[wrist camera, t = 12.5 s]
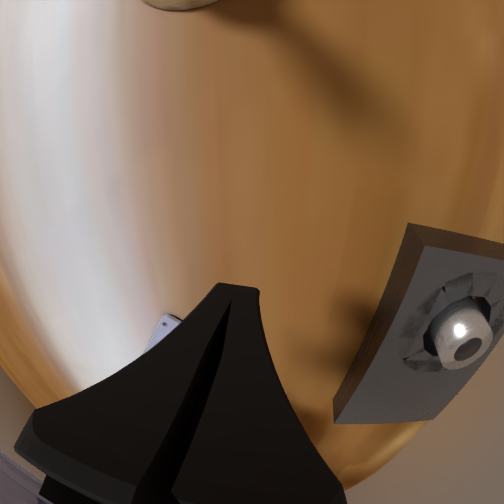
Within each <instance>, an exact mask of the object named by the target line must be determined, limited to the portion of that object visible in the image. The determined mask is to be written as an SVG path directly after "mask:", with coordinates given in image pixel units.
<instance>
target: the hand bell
mask: <svg viewBox="0 0 504 504" xmlns="http://www.w3.org/2000/svg"><path fill="white" fill-rule="evenodd" d="M141 1H143V2H144V3H146V4H148V5H150V6H152V7H155V8H159V9H164V10H172V11H174V10H188V9H194V8H198V7H202V6H205V5H209V4H211V3H214V2H216V1H218V0H141Z"/></svg>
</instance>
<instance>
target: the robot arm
mask: <svg viewBox="0 0 504 504" xmlns="http://www.w3.org/2000/svg"><path fill="white" fill-rule="evenodd" d="M259 295H260V291H259V290H258V289H257V288H254V287H247V286H240V285H233V284H226V283H217V284H216V285H215V286H214V287H213V288H212V290H211V291H210V292H209V293H208V294H207V295H206V297H205V298H204V299H203V300H202V301H201V302H200V303H199V304H198V305H197V306H196V308H195V309H194V310H193V311H192V312H191V313H190V314H189V315H188V316H187V317H186V318H185V319H184V320H183V321H180V320H178V319H176V318H175V317H173V316H171V315H169V314H164V315H163V317H162V319H161V320H160V322H159V324H158V326H157V328H156V330H155V332H154V334H153V336H152V338H151V340H150V342H149V344H148V346H147V348H146V350H145V352H144V354H143V355H141V356H140V357H139V358H137V359H136V360H135V361H133V362H132V363H130V364H128V365H127V366H125V367H124V368H122V369H121V370H119V371H118V372H116V373H115V374H113V375H111V376H110V377H108V378H106V379H104V380H102V381H100V382H99V383H97V384H95V385H93V386H91V387H89V388H87V389H85V390H83V391H81V392H79V393H77V394H75V395H72V396H70V397H68V398H65V399H63V400H60V401H57V402H55V403H52V404H49V405H47V406H44V407H41V408H38V409H35V410H34V412H33V413H32V414H31V416H30V418H29V419H28V421H27V423H26V424H25V427H24V428H23V430H22V432H21V434H20V436H19V438H18V440H17V441H16V443H15V445H14V449H15V452H16V453H17V454H19V455H20V456H21V457H23V458H24V459H25V460H27V461H28V462H29V463H31V464H32V465H34V466H35V467H37V468H38V469H39V470H41V471H42V472H44V473H45V474H47V475H46V477H45V480H44V481H43V480H41V479H40V478H38V477H37V476H35V475H33V474H32V473H31V472H29V471H28V470H26V469H25V468H23V467H22V466H21V465H19V464H18V463H17V462H15V461H14V460H12V459H11V458H10V457H9V456H7V455H6V454H5V453H4V452H2V451H1V450H0V504H347V501H346V497H345V493H344V489H343V486H342V484H341V483H340V481H339V480H338V479H337V477H336V476H335V475H334V474H333V472H332V471H331V470H330V468H329V467H328V465H327V464H326V463H325V461H324V460H323V458H322V457H321V456H320V454H319V453H318V451H317V450H316V448H315V446H314V445H313V443H312V442H311V440H310V439H309V437H308V435H307V434H306V432H305V430H304V428H303V427H302V425H301V423H300V421H299V419H298V418H297V416H296V414H295V412H294V410H293V408H292V406H291V404H290V402H289V400H288V398H287V396H286V394H285V392H284V389H283V387H282V385H281V382H280V380H279V377H278V375H277V372H276V370H275V367H274V364H273V361H272V358H271V355H270V352H269V349H268V345H267V342H266V338H265V333H264V329H263V325H262V320H261V313H260V305H259ZM166 323H167V324H166Z"/></svg>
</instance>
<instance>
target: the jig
mask: <svg viewBox="0 0 504 504" xmlns="http://www.w3.org/2000/svg"><path fill="white" fill-rule="evenodd" d="M467 296H475V299H474V301H475V303H476V304H477V306H478V308H479V309H480V311H481V312H482V314H483V316H484V318H485V319H486V321H487V323H488V324H489V326H490V328H491V330H492V332H493V339H492V342H491V344H490V346H489V347H488V349H487V350H486V351H485V352H484V354H483V355H482V356H480V357H479V358H478V359H477V360H476V361H474V362H473V363H471V364H469V365H467V366H465V367H463V368H460V369H454V370H449V369H446V368H444V367H443V366H442V363H441V360H440V358H439V355H438V352H437V350H436V347H435V345H434V342H433V340H432V337H431V335H430V332H429V330H427V328H428V326H429V324H430V322H431V321H432V319H433V318H434V317H435V316H436V315H438V314H439V313H440V312H441V311H442V310H443V309H444V308H446V307H447V306H448V305H449V304H450V303H453V302H455V301H458V300H460V299H462V298H465V297H467ZM503 334H504V244H502V243H498V242H493V241H489V240H485V239H481V238H477V237H473V236H468V235H464V234H459V233H455V232H450V231H446V230H441V229H436V228H431V227H427V226H422V225H417V224H411V223H408V225H407V228H406V231H405V234H404V237H403V241H402V244H401V247H400V250H399V253H398V255H397V258H396V261H395V264H394V267H393V270H392V272H391V275H390V278H389V280H388V283H387V286H386V288H385V291H384V293H383V296H382V298H381V301H380V303H379V306H378V308H377V310H376V313H375V315H374V317H373V320H372V322H371V324H370V327H369V329H368V331H367V333H366V335H365V338H364V340H363V342H362V344H361V346H360V348H359V350H358V352H357V355H356V357H355V359H354V361H353V363H352V365H351V367H350V369H349V371H348V373H347V374H346V376H345V378H344V380H343V382H342V384H341V386H340V388H339V390H338V391H337V393H336V395H335V397H334V399H333V416H334V424H382V423H400V422H413V421H423V420H432V419H434V418H435V417H436V416H437V415H438V414H439V413H440V412H441V411H442V410H443V409H444V408H445V407H446V406H447V405H448V403H449V402H450V401H451V400H452V399H453V398H454V397H455V396H456V395H457V394H458V392H459V391H460V390H461V389H462V388H463V387H464V386H465V384H466V383H467V382H468V381H469V380H470V378H471V377H472V376H473V375H474V374H475V372H476V371H477V370H478V368H479V367H480V366H481V364H482V363H483V362H484V361H485V359H486V358H487V357H488V355H489V354H490V352H491V351H492V350H493V348H494V347H495V345H496V344H497V343H498V341H499V340H500V338H501V337H502V335H503Z"/></svg>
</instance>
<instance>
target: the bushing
mask: <svg viewBox="0 0 504 504" xmlns="http://www.w3.org/2000/svg"><path fill="white" fill-rule="evenodd" d="M428 330H429V332H430V335H431V337H432V340H433V342H434V345H435V347H436V350H437V352H438V355H439V358H440V360H441V363H442V366H443V367H444V368H446V369H449V370H454V369H460V368H463V367H465V366H467V365H469V364H471V363H473V362H474V361H476V360H477V359H478V358H479V357H480V356H482V355H483V354H484V352H485V351H486V350H487V349H488V347H489V346H490V344H491V342H492V339H493V332H492V330H491V328H490V326H489V324H488V323H487V321H486V319H485V318H484V316H483V314H482V312H481V311H480V309H479V308H478V306H477V304H476V303H475V301H474V299H473V298H472V296H467V297H465V298H462V299H460V300H458V301H455V302H453V303H450V304H449V305H448V306H447V307H446V308H444V309H443V310H442V311H441V312H440V313H439V314H438V315H436V316H435V317H434V318H433V319H432V321H431V322H430V324H429V326H428Z"/></svg>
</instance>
